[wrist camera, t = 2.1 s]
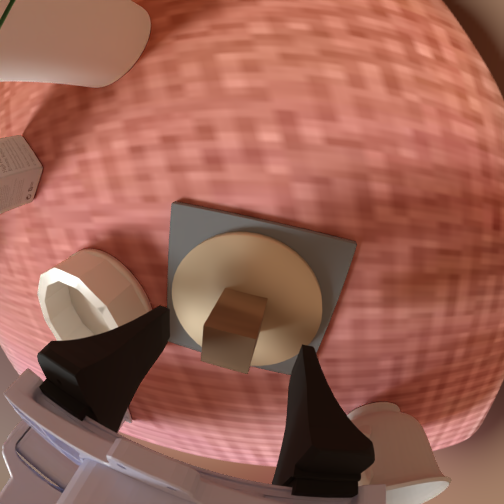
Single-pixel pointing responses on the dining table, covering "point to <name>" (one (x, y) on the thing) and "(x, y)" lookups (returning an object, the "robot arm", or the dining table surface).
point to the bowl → (90, 295)
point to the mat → (300, 240)
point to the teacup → (399, 454)
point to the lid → (246, 300)
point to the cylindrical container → (71, 40)
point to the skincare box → (17, 173)
